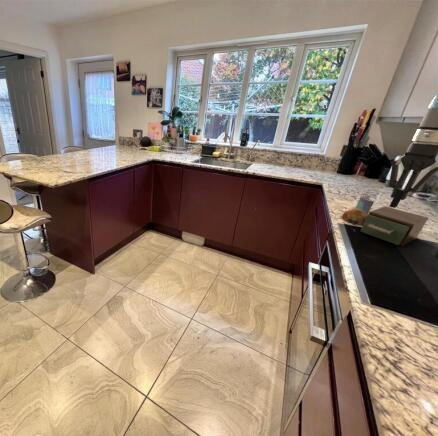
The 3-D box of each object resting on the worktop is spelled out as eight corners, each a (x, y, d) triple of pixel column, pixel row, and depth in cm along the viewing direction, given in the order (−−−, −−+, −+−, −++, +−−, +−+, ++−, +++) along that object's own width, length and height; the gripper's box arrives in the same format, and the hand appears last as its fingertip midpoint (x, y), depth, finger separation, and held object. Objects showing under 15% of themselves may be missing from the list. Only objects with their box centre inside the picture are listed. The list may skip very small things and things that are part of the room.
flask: (367, 218, 117) (377, 198, 113) (360, 217, 118) (369, 197, 114) (357, 211, 126) (366, 192, 121) (351, 210, 126) (359, 192, 122)
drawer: (393, 248, 89) (403, 229, 85) (354, 233, 99) (362, 216, 95) (412, 237, 97) (422, 220, 94) (375, 225, 107) (382, 209, 104)
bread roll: (365, 231, 111) (377, 217, 109) (355, 225, 107) (368, 210, 105) (344, 222, 120) (355, 209, 118) (334, 216, 116) (345, 202, 113)
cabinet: (401, 246, 92) (414, 224, 88) (359, 231, 103) (369, 211, 99) (416, 238, 99) (428, 217, 95) (375, 225, 110) (385, 206, 106)
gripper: (397, 141, 83) (367, 202, 93) (451, 146, 73) (412, 214, 83) (405, 140, 86) (376, 199, 96) (458, 145, 76) (420, 211, 86)
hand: (392, 206), depth 89 cm, fingers closed
